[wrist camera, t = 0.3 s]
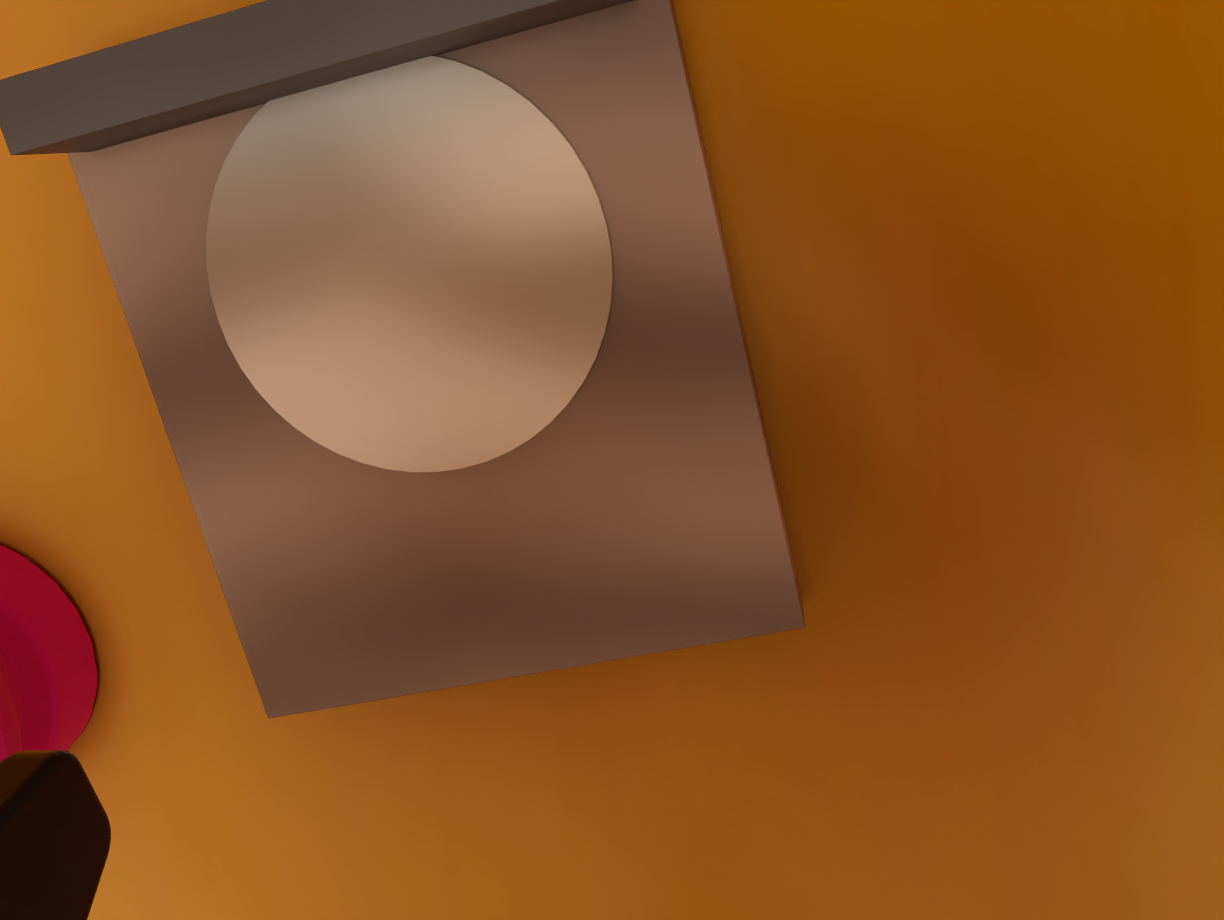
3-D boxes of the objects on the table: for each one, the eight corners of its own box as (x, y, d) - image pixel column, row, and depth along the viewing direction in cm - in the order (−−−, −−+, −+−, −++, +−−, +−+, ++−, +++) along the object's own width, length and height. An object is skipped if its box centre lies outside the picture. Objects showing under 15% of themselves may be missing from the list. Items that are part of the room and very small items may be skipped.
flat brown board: (802, 603, 24) (810, 685, 21) (289, 692, 26) (217, 780, 23) (652, -93, 21) (630, -138, 17) (75, 76, 23) (-50, 68, 19)
